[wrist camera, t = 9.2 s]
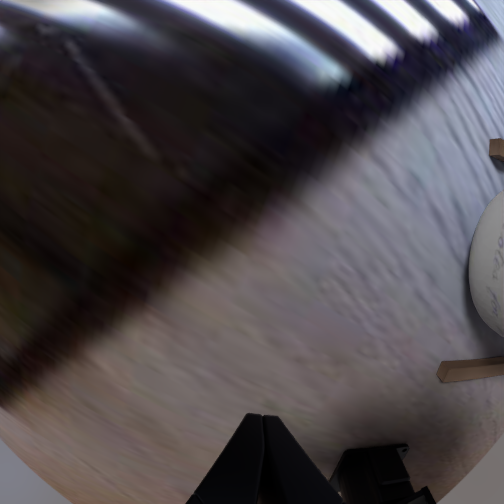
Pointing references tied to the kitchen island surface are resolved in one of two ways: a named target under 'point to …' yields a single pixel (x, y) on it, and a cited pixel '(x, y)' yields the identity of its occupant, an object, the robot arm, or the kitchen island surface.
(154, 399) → the kitchen island surface
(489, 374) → the frame
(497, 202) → the teacup
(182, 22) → the kitchen island surface
